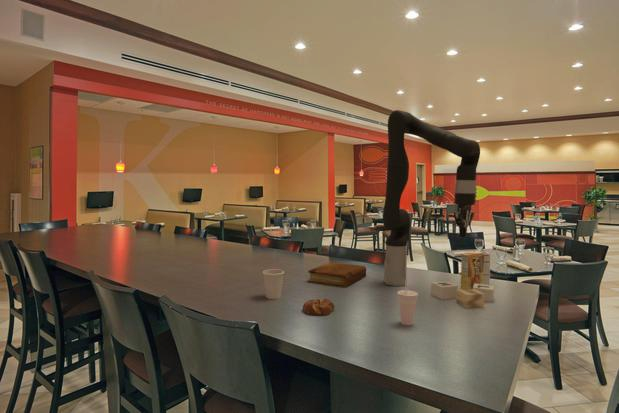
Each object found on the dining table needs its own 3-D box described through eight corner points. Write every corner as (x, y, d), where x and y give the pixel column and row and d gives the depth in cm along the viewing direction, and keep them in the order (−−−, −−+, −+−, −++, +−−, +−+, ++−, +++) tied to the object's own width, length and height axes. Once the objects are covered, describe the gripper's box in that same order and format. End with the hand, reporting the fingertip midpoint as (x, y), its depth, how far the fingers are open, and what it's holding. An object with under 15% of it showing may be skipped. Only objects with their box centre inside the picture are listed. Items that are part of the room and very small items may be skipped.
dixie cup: (267, 301, 143) (267, 274, 142) (259, 295, 150) (259, 270, 149) (287, 298, 146) (287, 272, 146) (279, 292, 154) (279, 268, 153)
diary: (346, 289, 162) (346, 275, 162) (308, 283, 172) (308, 270, 171) (366, 277, 182) (366, 265, 182) (330, 273, 192) (330, 261, 191)
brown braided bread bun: (317, 304, 141) (317, 294, 141) (341, 310, 134) (341, 300, 134) (295, 311, 132) (295, 301, 131) (320, 319, 125) (320, 307, 125)
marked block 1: (442, 300, 146) (442, 286, 146) (431, 295, 153) (431, 282, 153) (457, 298, 149) (457, 285, 148) (445, 293, 155) (446, 281, 155)
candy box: (474, 287, 164) (476, 252, 164) (483, 289, 161) (484, 253, 160) (459, 289, 161) (461, 253, 160) (468, 292, 157) (469, 255, 156)
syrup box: (490, 286, 166) (491, 253, 165) (475, 285, 167) (476, 252, 167) (486, 283, 172) (487, 251, 171) (472, 282, 173) (473, 250, 172)
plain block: (465, 308, 136) (466, 294, 136) (456, 302, 143) (456, 289, 143) (484, 307, 137) (484, 294, 137) (473, 302, 144) (474, 288, 144)
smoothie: (394, 319, 124) (394, 277, 123) (413, 319, 124) (414, 276, 124) (400, 327, 117) (401, 282, 117) (420, 326, 118) (421, 281, 117)
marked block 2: (472, 300, 146) (472, 287, 146) (474, 295, 152) (474, 282, 152) (492, 303, 143) (493, 289, 143) (493, 298, 149) (494, 285, 149)
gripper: (467, 192, 139) (464, 239, 140) (482, 192, 148) (479, 236, 150) (447, 191, 145) (445, 237, 146) (463, 191, 154) (461, 234, 155)
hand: (462, 236), depth 148 cm, fingers closed
